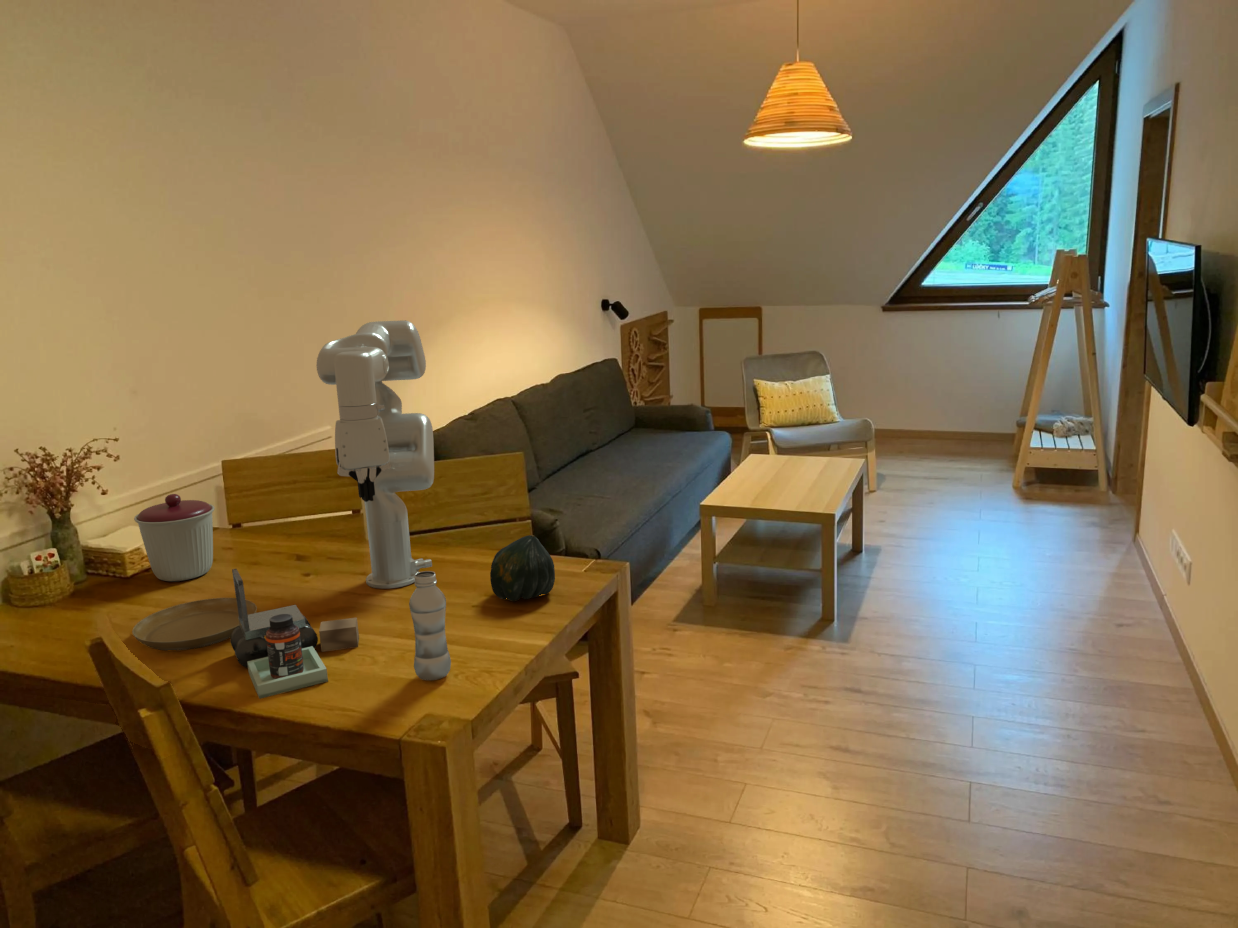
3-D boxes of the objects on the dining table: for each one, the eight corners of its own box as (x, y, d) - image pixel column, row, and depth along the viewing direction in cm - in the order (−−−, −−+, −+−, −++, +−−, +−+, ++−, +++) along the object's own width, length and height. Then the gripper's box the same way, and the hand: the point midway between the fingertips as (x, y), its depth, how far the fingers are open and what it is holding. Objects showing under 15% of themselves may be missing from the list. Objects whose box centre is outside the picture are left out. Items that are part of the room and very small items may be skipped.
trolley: (309, 636, 186) (300, 556, 182) (319, 652, 178) (309, 568, 174) (232, 654, 178) (220, 571, 174) (238, 671, 171) (226, 584, 167)
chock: (359, 637, 185) (356, 617, 184) (358, 647, 180) (355, 626, 179) (323, 642, 183) (321, 621, 182) (321, 652, 179) (319, 631, 178)
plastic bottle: (417, 670, 169) (408, 569, 164) (453, 667, 169) (445, 567, 165) (412, 686, 162) (402, 581, 158) (450, 683, 163) (441, 579, 158)
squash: (468, 574, 203) (497, 533, 195) (514, 558, 215) (543, 519, 207) (503, 624, 199) (535, 584, 191) (548, 604, 211) (580, 566, 202)
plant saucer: (116, 636, 190) (113, 622, 190) (227, 602, 208) (225, 589, 207) (163, 667, 175) (161, 651, 174) (279, 627, 192) (277, 613, 191)
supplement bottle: (291, 682, 164) (283, 625, 161) (263, 679, 166) (255, 622, 163) (311, 668, 170) (304, 612, 167) (284, 665, 171) (277, 609, 169)
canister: (238, 569, 230) (227, 489, 225) (171, 592, 215) (158, 507, 210) (196, 559, 239) (184, 482, 234) (129, 580, 224) (115, 499, 220)
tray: (314, 657, 176) (312, 645, 175) (328, 681, 166) (326, 668, 165) (248, 673, 170) (247, 661, 169) (259, 698, 160) (257, 685, 159)
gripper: (389, 406, 189) (397, 490, 193) (316, 414, 182) (326, 502, 186) (400, 410, 183) (408, 497, 187) (325, 419, 175) (335, 510, 179)
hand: (367, 499), depth 186 cm, fingers closed
